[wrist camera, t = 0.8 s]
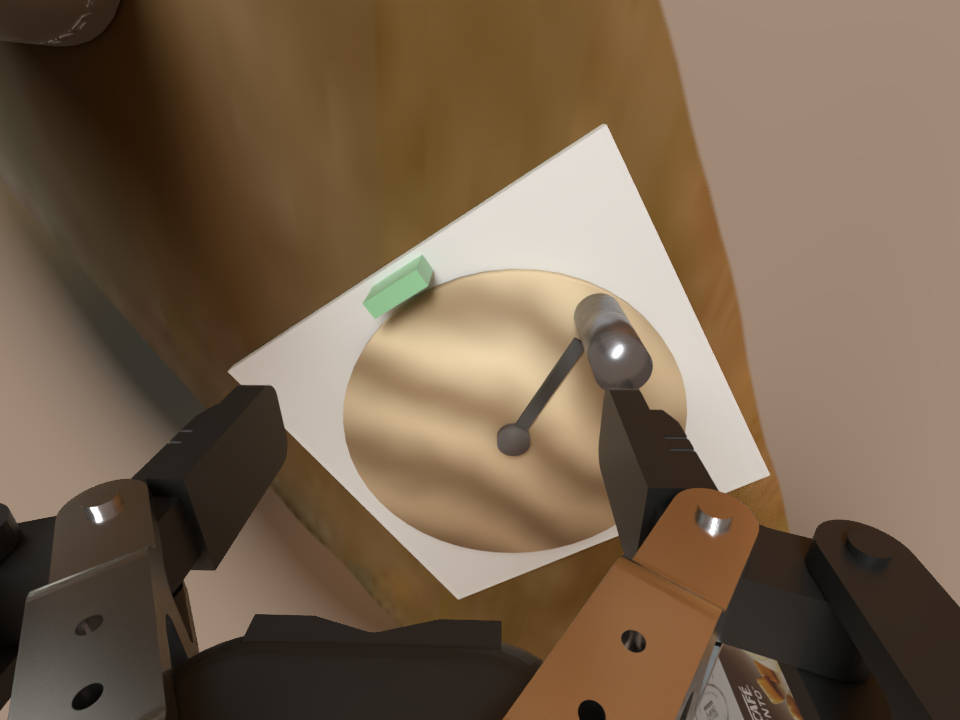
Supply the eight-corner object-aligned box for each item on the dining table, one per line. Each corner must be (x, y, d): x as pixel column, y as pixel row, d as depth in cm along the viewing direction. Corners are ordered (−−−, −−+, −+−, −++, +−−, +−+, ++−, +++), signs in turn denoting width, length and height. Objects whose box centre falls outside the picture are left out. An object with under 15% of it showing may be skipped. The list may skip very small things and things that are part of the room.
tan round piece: (564, 577, 45) (578, 666, 38) (302, 479, 40) (263, 561, 33) (756, 369, 34) (825, 440, 27) (431, 197, 29) (413, 231, 22)
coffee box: (639, 601, 49) (700, 808, 35) (680, 562, 46) (763, 771, 32) (713, 628, 51) (799, 835, 37) (756, 592, 48) (867, 802, 34)
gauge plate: (233, 364, 36) (206, 394, 33) (602, 123, 28) (618, 128, 25) (458, 590, 48) (456, 629, 45) (764, 466, 40) (790, 502, 37)
